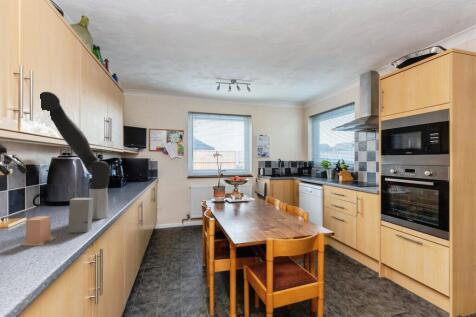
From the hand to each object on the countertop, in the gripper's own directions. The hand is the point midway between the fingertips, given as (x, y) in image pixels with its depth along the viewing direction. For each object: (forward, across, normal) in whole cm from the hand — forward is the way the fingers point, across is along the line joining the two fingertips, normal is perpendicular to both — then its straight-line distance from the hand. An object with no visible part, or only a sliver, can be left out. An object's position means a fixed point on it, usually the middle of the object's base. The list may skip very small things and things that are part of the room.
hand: (17, 173), depth 100 cm
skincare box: (+35, +10, +6) cm, 37 cm away
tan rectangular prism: (+28, -4, +12) cm, 31 cm away
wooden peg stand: (+28, -4, +12) cm, 31 cm away
